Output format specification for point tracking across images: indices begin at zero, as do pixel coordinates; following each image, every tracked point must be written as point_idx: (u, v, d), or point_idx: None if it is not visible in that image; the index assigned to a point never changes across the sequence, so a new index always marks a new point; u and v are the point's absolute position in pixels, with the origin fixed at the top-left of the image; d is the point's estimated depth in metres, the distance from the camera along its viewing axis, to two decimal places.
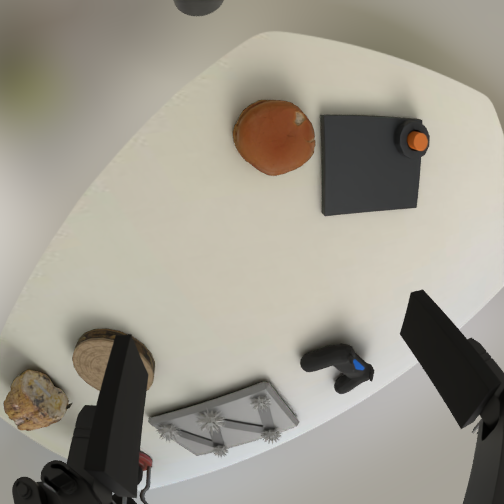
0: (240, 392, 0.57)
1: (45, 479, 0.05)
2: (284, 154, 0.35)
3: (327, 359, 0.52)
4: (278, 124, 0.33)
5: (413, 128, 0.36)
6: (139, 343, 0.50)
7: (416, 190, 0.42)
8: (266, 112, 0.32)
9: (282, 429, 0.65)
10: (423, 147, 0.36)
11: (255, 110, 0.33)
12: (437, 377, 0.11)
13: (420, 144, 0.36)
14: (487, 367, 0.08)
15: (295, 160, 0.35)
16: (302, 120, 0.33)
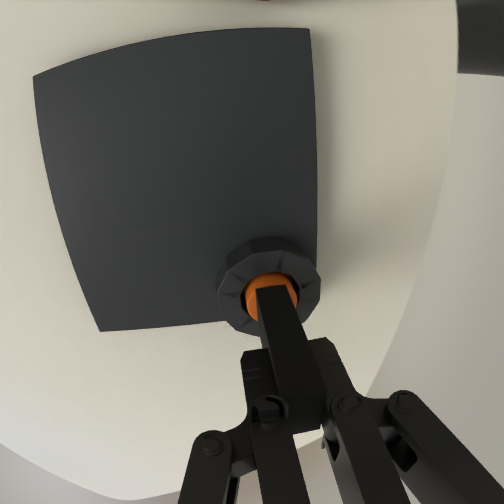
0: None
1: (252, 408, 0.08)
2: None
3: None
4: None
5: (302, 286, 0.16)
6: None
7: (137, 324, 0.18)
8: None
9: None
10: None
11: None
12: None
13: None
14: (316, 370, 0.10)
15: None
16: None
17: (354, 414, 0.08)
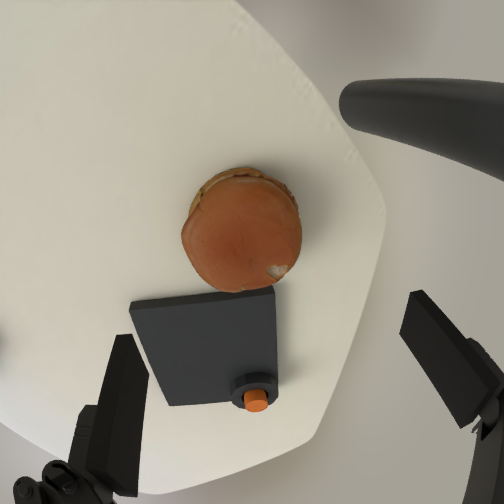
0: None
1: (46, 479, 0.05)
2: (220, 257, 0.22)
3: None
4: (269, 243, 0.23)
5: (269, 392, 0.33)
6: None
7: (190, 403, 0.35)
8: (287, 224, 0.22)
9: None
10: (250, 409, 0.32)
11: (289, 206, 0.22)
12: (436, 376, 0.11)
13: (254, 406, 0.32)
14: (486, 367, 0.08)
15: (211, 273, 0.23)
16: (274, 275, 0.24)
17: None
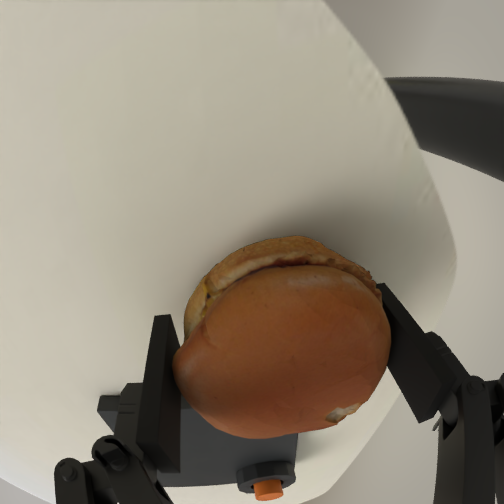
0: None
1: (95, 453, 0.07)
2: (249, 416, 0.11)
3: None
4: (338, 388, 0.11)
5: (285, 480, 0.23)
6: None
7: (188, 485, 0.25)
8: (375, 356, 0.11)
9: None
10: (262, 499, 0.22)
11: (381, 322, 0.11)
12: (396, 369, 0.12)
13: (266, 497, 0.22)
14: (442, 360, 0.09)
15: (232, 429, 0.12)
16: (335, 417, 0.13)
17: (477, 396, 0.08)
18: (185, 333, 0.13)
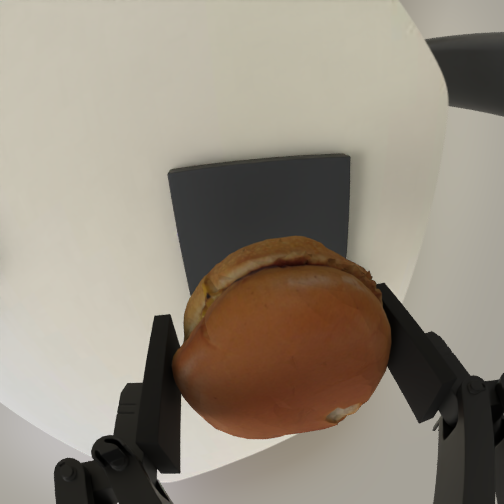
0: None
1: (95, 453, 0.07)
2: (249, 417, 0.11)
3: None
4: (338, 388, 0.11)
5: None
6: None
7: None
8: (376, 356, 0.11)
9: None
10: None
11: (381, 322, 0.11)
12: (396, 369, 0.12)
13: None
14: (443, 360, 0.09)
15: (232, 429, 0.12)
16: (335, 417, 0.13)
17: (477, 396, 0.08)
18: (185, 333, 0.13)
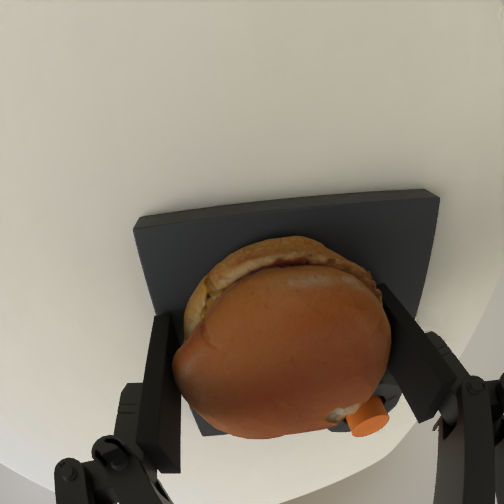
0: None
1: (95, 453, 0.07)
2: (249, 417, 0.11)
3: None
4: (338, 388, 0.11)
5: (388, 400, 0.17)
6: None
7: None
8: (376, 356, 0.11)
9: None
10: (359, 433, 0.16)
11: (381, 322, 0.11)
12: (396, 369, 0.12)
13: (367, 427, 0.16)
14: (442, 361, 0.09)
15: (232, 429, 0.12)
16: (335, 417, 0.13)
17: (477, 396, 0.08)
18: (185, 333, 0.13)
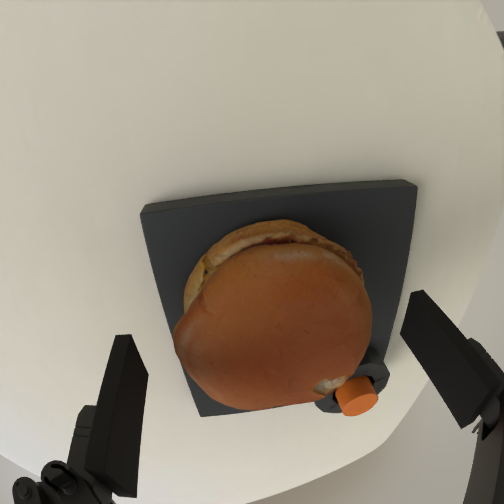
0: None
1: (44, 479, 0.05)
2: (243, 382, 0.12)
3: None
4: (323, 357, 0.13)
5: (377, 381, 0.19)
6: None
7: (238, 410, 0.21)
8: (357, 327, 0.12)
9: None
10: (349, 412, 0.18)
11: (361, 296, 0.12)
12: (437, 377, 0.11)
13: (357, 406, 0.18)
14: (487, 367, 0.08)
15: (227, 398, 0.13)
16: (323, 390, 0.14)
17: None
18: (185, 308, 0.14)
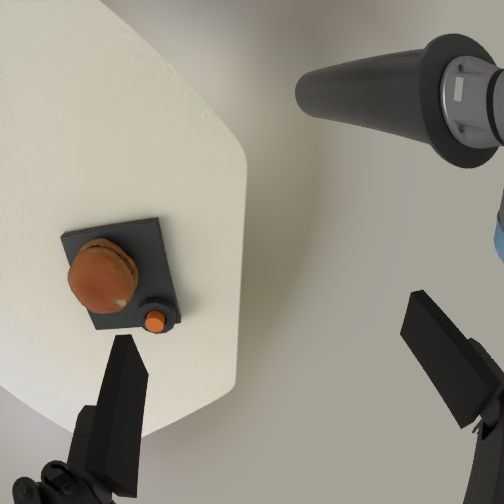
0: None
1: (45, 479, 0.05)
2: (85, 294, 0.34)
3: None
4: (109, 287, 0.35)
5: (166, 315, 0.41)
6: None
7: (111, 327, 0.43)
8: (117, 276, 0.34)
9: None
10: (150, 328, 0.40)
11: (118, 265, 0.34)
12: (437, 376, 0.11)
13: (152, 325, 0.40)
14: (487, 367, 0.08)
15: (84, 302, 0.35)
16: (119, 305, 0.36)
17: None
18: None
